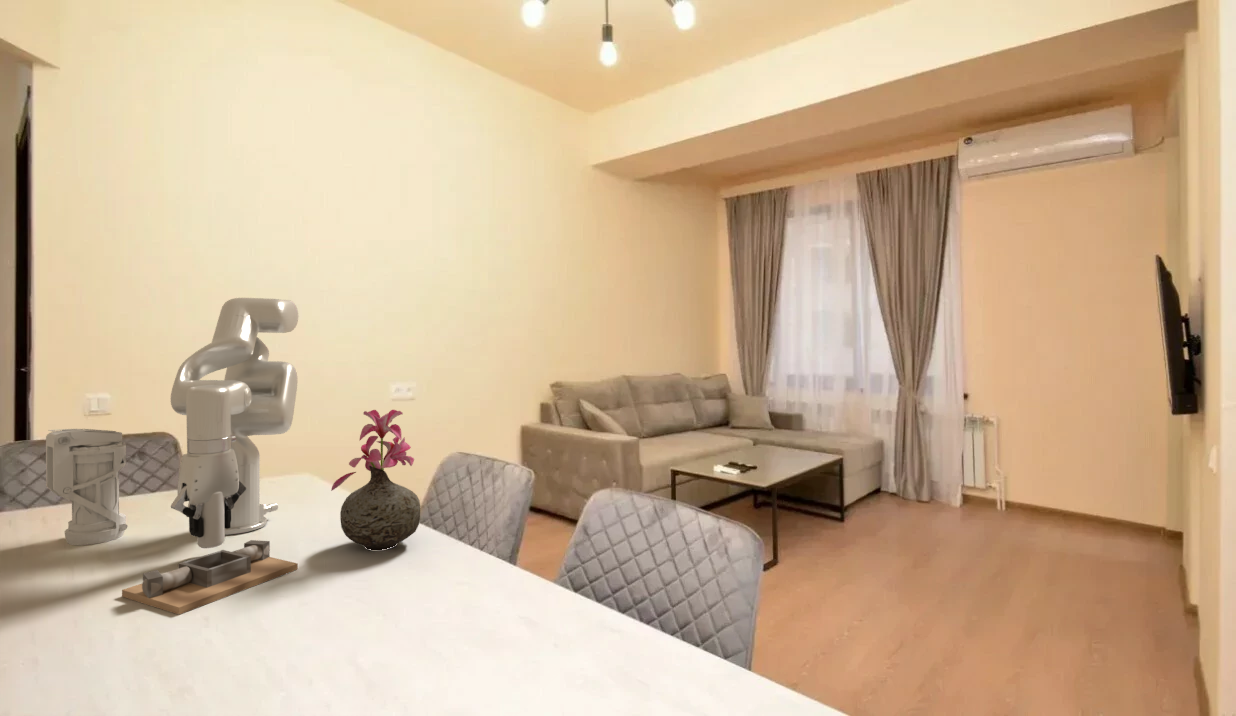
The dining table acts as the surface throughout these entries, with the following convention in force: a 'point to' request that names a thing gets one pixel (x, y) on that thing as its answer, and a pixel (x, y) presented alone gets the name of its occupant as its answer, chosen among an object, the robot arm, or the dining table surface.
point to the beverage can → (213, 522)
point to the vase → (380, 492)
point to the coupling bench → (209, 578)
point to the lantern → (88, 481)
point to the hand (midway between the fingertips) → (210, 530)
